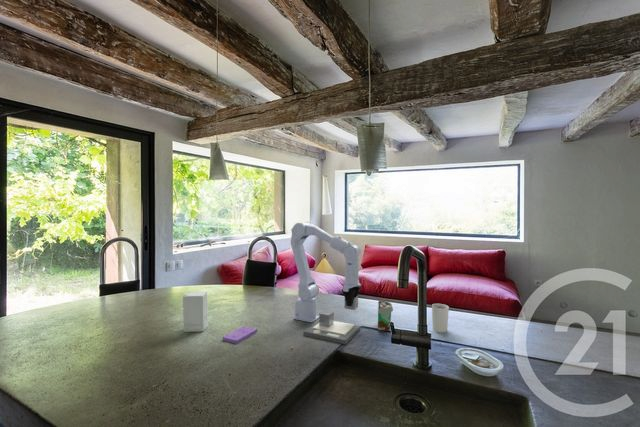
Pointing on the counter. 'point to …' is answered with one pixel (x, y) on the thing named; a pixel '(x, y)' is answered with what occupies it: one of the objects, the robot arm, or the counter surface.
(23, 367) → the counter surface
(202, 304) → the skincare box
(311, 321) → the robot arm
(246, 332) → the sponges
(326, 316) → the block
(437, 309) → the white cup
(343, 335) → the kitchen scale
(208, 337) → the counter surface
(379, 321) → the food container
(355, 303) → the block
